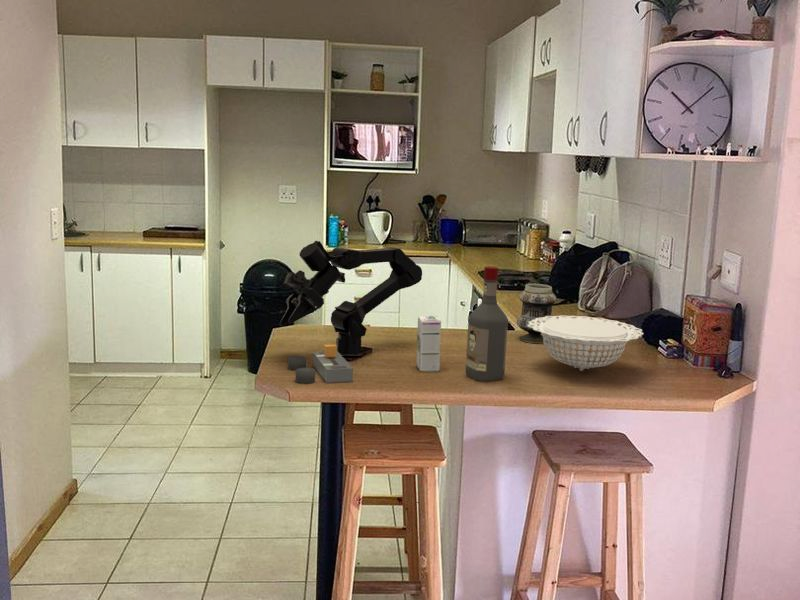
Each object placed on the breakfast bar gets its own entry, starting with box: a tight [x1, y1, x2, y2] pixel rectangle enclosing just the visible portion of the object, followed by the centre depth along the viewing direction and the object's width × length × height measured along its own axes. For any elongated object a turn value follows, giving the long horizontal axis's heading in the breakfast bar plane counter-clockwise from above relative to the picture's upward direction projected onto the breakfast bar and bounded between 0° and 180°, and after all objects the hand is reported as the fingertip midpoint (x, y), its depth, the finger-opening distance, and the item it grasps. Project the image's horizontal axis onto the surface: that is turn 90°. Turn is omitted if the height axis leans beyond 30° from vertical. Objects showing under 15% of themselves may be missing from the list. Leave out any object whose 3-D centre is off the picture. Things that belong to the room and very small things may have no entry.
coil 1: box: [287, 355, 308, 372], centre depth 225 cm, size 5×5×3 cm
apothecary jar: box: [516, 283, 557, 344], centre depth 267 cm, size 12×12×18 cm
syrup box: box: [415, 315, 442, 372], centre depth 228 cm, size 6×6×14 cm
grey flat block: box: [312, 351, 354, 384], centre depth 222 cm, size 7×18×4 cm, turn 17°
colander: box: [528, 315, 644, 372], centre depth 233 cm, size 32×32×13 cm
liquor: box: [464, 266, 509, 383], centre depth 221 cm, size 9×9×30 cm
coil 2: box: [295, 367, 316, 385], centre depth 214 cm, size 5×5×3 cm
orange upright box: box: [323, 343, 337, 357], centre depth 224 cm, size 3×2×3 cm, turn 107°
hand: (285, 323), depth 225 cm, fingers open, 9 cm apart
